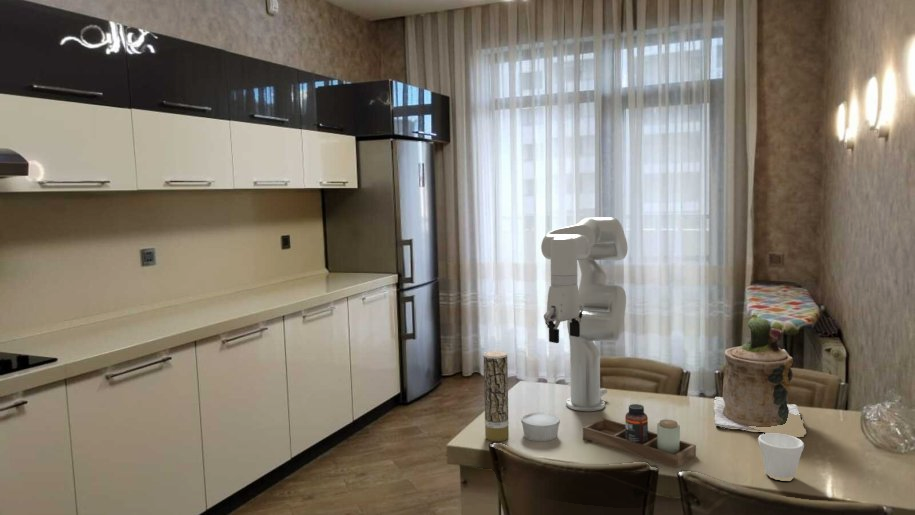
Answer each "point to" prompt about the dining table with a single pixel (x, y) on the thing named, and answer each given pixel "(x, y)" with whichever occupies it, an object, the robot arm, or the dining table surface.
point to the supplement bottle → (636, 424)
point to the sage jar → (668, 436)
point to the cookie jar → (756, 381)
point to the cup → (780, 453)
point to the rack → (616, 438)
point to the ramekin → (540, 426)
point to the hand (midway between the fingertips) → (564, 339)
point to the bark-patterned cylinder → (496, 395)
